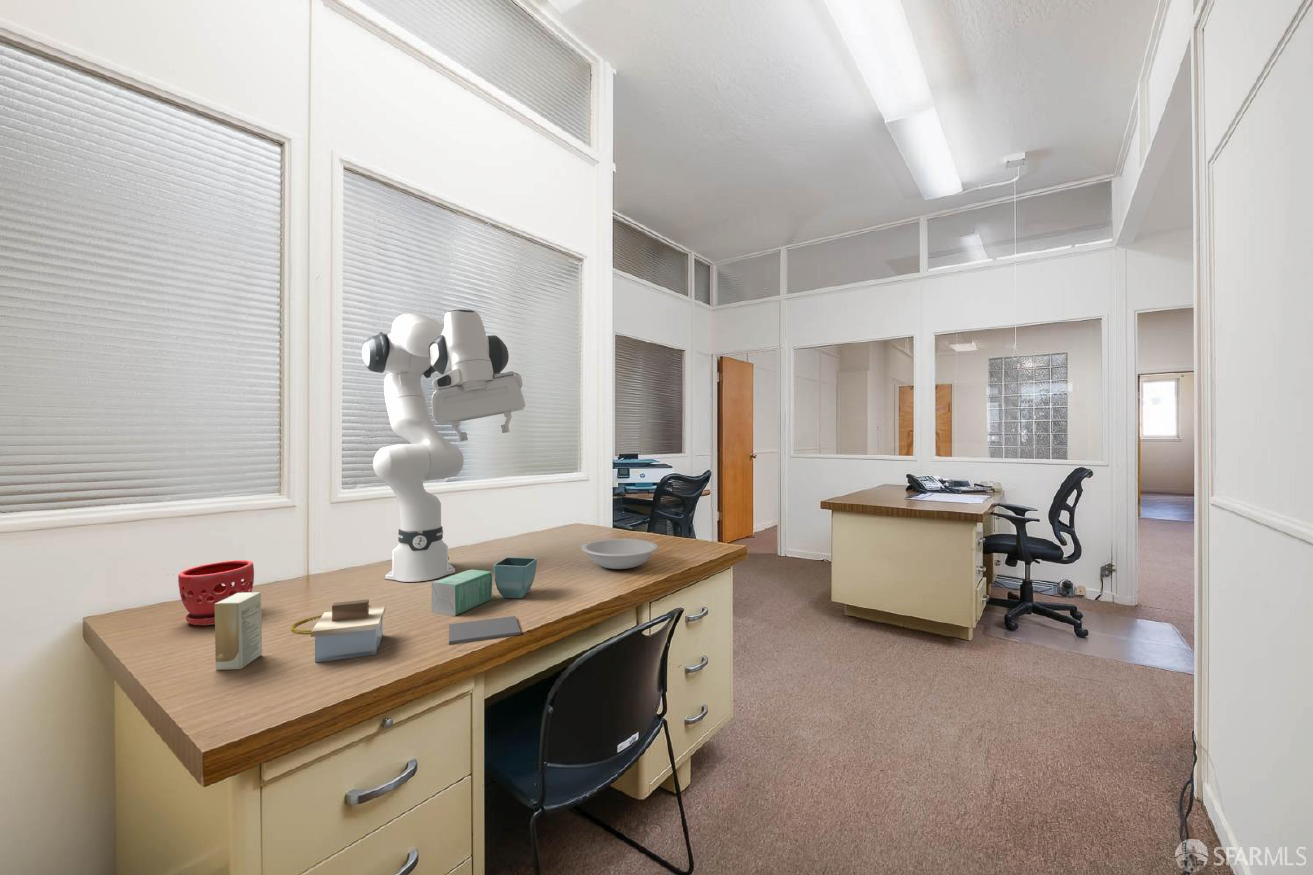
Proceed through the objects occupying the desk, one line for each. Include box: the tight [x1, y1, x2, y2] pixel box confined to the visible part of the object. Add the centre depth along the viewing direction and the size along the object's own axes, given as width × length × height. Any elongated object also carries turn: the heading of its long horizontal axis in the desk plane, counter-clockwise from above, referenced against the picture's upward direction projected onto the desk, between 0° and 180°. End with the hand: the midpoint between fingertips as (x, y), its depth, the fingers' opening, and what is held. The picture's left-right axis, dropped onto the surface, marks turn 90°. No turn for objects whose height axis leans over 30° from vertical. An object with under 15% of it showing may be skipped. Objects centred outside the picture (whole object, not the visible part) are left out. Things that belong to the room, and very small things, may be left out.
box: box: [431, 569, 493, 617], centre depth 128 cm, size 7×14×8 cm, turn 160°
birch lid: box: [310, 598, 386, 638], centre depth 102 cm, size 11×11×4 cm
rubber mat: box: [448, 615, 522, 645], centre depth 112 cm, size 10×14×1 cm
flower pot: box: [493, 556, 538, 599], centre depth 135 cm, size 9×9×9 cm
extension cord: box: [290, 604, 372, 635], centre depth 116 cm, size 12×16×2 cm
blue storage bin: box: [314, 617, 384, 663], centre depth 103 cm, size 10×10×5 cm
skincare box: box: [214, 591, 263, 671], centre depth 96 cm, size 6×4×12 cm
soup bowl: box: [581, 537, 659, 570], centre depth 165 cm, size 24×24×7 cm
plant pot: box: [177, 559, 255, 626], centre depth 118 cm, size 13×13×12 cm
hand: (485, 436), depth 119 cm, fingers open, 8 cm apart
